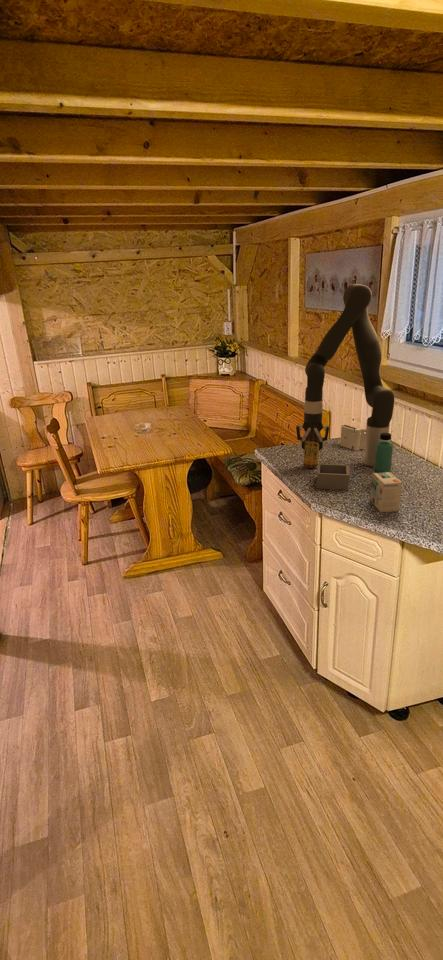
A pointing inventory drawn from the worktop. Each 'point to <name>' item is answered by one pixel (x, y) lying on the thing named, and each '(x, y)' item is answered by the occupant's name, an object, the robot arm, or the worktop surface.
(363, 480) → the worktop surface
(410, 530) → the worktop surface
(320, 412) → the robot arm
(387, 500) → the light bulb box
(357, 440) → the hinge
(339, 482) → the bottle holder
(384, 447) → the beverage bottle
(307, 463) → the sauce bottle
